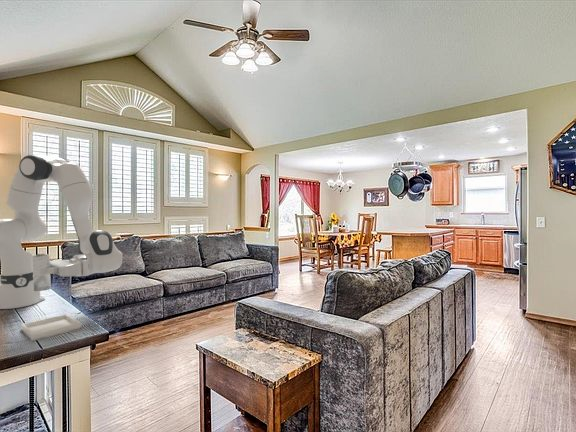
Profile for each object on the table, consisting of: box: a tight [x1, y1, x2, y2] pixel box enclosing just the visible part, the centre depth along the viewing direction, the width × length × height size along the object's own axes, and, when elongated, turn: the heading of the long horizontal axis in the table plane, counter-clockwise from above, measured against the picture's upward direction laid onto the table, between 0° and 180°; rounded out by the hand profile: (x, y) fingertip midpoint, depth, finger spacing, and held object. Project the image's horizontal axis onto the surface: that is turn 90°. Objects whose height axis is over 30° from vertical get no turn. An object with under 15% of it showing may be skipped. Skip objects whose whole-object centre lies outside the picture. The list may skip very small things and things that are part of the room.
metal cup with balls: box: [32, 252, 52, 292], centre depth 124 cm, size 5×5×14 cm
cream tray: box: [20, 313, 82, 342], centre depth 116 cm, size 16×14×2 cm
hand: (38, 270), depth 123 cm, fingers closed on metal cup with balls, 5 cm apart
